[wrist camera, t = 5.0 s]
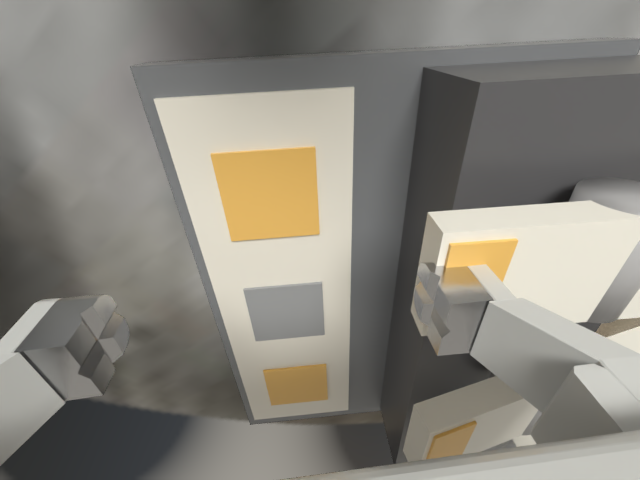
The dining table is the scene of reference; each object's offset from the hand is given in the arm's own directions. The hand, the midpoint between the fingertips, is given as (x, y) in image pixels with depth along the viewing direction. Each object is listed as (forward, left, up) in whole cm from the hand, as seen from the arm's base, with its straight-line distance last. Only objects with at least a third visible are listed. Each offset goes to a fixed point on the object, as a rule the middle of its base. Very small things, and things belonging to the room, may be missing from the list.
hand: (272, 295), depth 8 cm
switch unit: (-5, +7, -8) cm, 11 cm away
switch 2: (-9, +7, -2) cm, 12 cm away
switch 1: (-10, 0, -2) cm, 10 cm away
